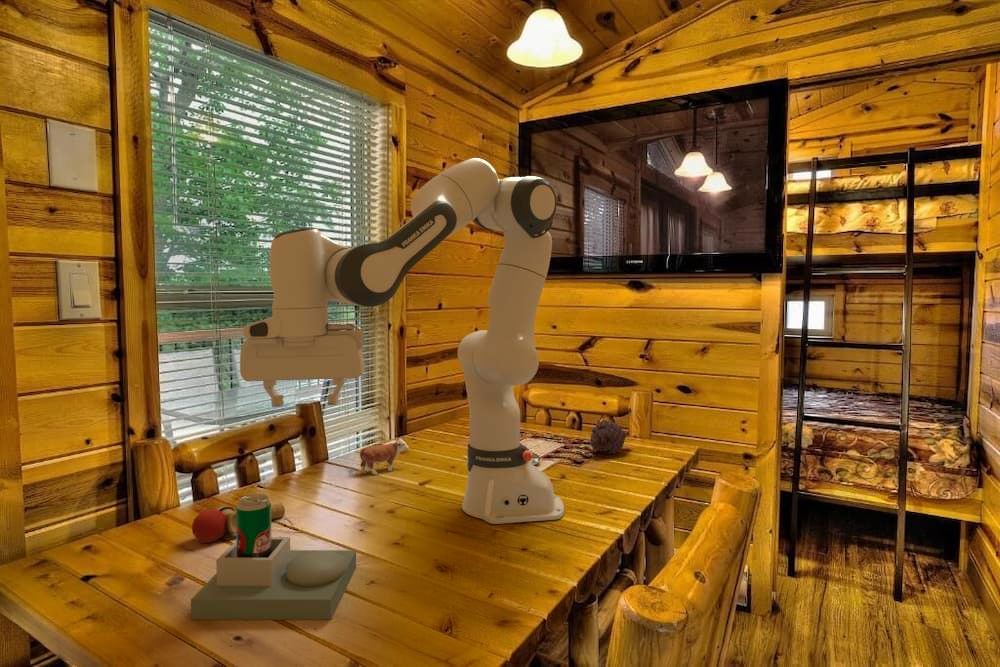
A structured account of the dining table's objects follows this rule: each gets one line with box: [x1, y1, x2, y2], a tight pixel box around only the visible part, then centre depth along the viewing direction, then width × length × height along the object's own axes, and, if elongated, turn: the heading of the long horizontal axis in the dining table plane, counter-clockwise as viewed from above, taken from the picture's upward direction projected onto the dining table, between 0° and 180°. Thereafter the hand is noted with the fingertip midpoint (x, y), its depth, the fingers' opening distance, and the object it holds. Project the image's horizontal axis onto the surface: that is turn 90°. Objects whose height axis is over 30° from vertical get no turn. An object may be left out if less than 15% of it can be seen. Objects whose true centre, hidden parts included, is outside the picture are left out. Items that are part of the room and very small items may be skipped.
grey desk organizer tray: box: [190, 536, 357, 621], centre depth 91 cm, size 20×16×7 cm
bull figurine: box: [359, 438, 410, 475], centre depth 153 cm, size 4×13×8 cm, turn 124°
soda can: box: [235, 493, 273, 558], centre depth 91 cm, size 5×5×12 cm
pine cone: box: [589, 419, 630, 454], centre depth 172 cm, size 18×10×10 cm, turn 139°
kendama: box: [191, 502, 286, 544], centre depth 115 cm, size 8×6×18 cm
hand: (305, 405), depth 99 cm, fingers open, 8 cm apart
